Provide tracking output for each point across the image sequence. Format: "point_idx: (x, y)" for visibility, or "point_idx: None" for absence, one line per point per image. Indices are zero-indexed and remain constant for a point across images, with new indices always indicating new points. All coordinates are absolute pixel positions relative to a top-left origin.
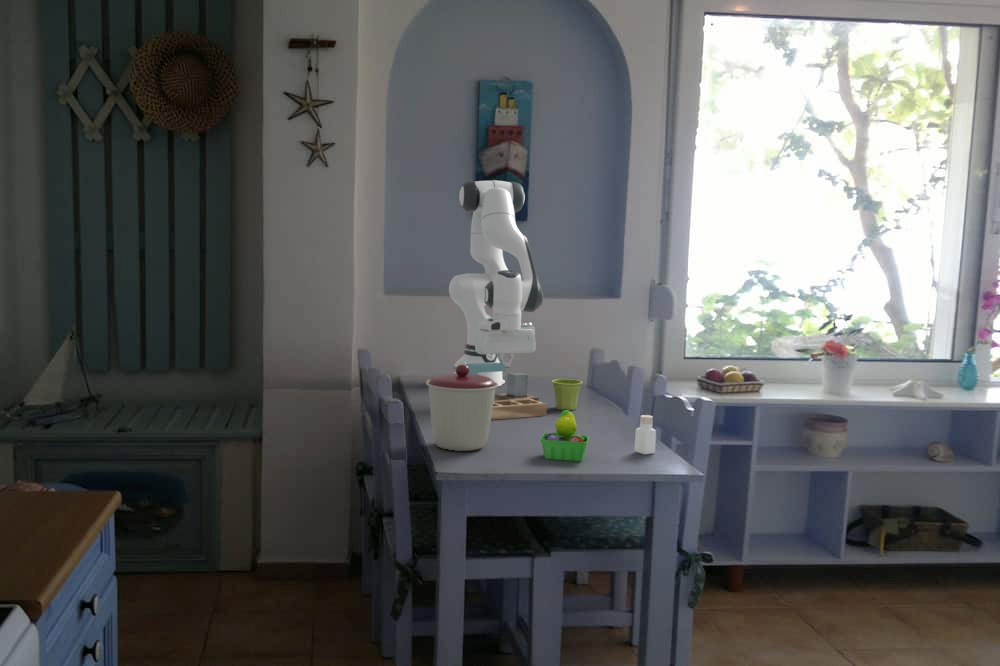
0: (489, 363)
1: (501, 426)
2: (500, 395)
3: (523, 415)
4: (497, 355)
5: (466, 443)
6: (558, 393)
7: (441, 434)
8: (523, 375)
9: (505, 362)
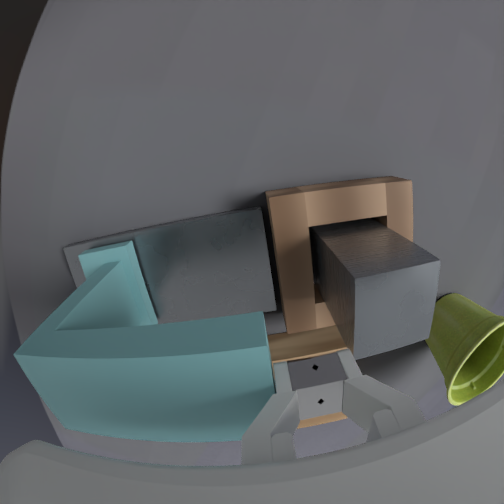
0: (169, 385)
1: (179, 450)
2: (281, 238)
3: None
4: (244, 451)
5: None
6: (439, 363)
7: None
8: (403, 345)
9: (309, 416)
